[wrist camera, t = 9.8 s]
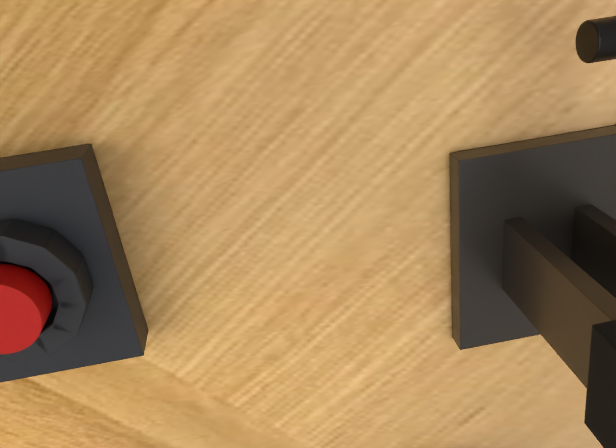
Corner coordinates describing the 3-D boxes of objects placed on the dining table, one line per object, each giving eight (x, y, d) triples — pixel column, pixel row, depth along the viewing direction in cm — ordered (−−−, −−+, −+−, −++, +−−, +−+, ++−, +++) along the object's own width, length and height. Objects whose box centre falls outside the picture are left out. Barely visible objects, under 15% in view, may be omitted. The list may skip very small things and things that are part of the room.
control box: (-106, 174, 26) (-157, 209, 23) (91, 143, 27) (72, 172, 23) (-17, 361, 31) (-48, 414, 28) (148, 330, 32) (139, 378, 28)
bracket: (449, 152, 30) (612, 293, 18) (629, 122, 31) (908, 236, 18) (452, 337, 35) (578, 544, 23) (605, 307, 36) (809, 493, 24)
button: (-47, 271, 25) (-64, 292, 23) (37, 256, 25) (25, 276, 24) (-16, 337, 27) (-31, 361, 25) (63, 323, 27) (53, 346, 25)
